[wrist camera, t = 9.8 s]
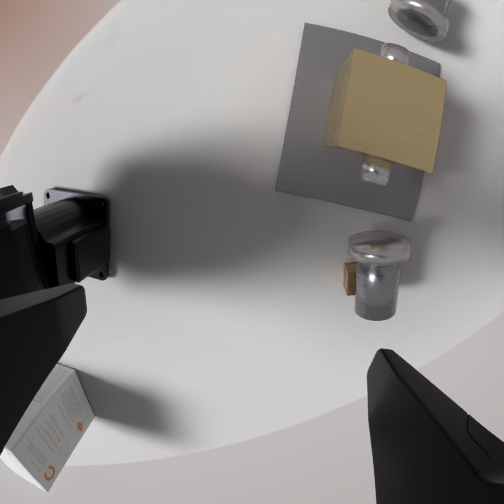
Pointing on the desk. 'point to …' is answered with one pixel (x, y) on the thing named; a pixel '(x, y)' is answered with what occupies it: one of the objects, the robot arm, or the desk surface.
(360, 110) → the coupler
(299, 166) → the mat
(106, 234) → the robot arm
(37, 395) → the small box
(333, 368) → the desk surface
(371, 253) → the shaft
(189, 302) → the desk surface
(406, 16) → the shaft
